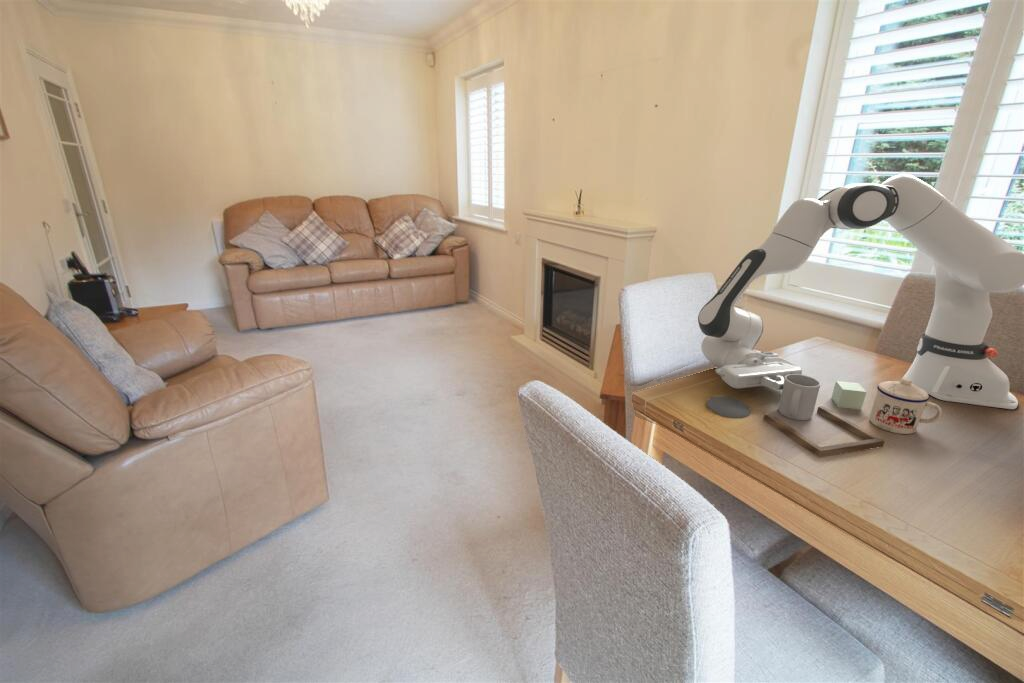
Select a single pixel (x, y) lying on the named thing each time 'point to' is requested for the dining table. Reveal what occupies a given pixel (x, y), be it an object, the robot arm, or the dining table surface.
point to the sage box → (848, 395)
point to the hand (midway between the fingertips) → (783, 387)
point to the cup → (798, 396)
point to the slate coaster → (728, 407)
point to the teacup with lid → (901, 407)
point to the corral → (819, 451)
